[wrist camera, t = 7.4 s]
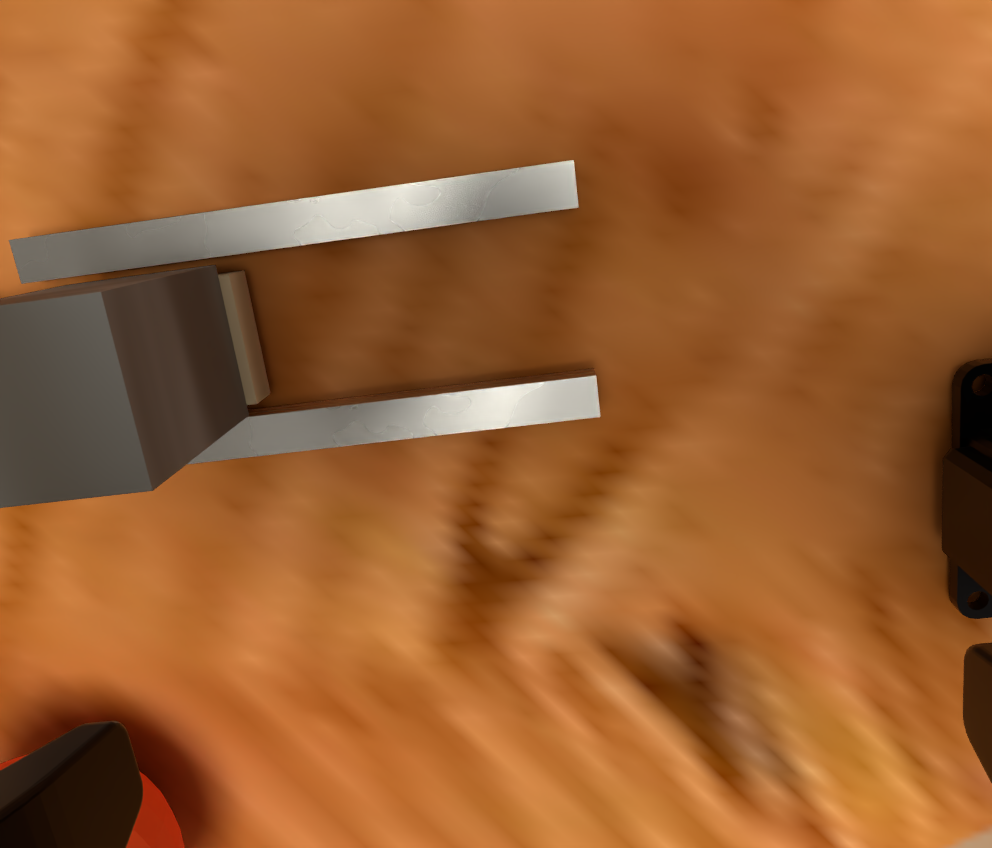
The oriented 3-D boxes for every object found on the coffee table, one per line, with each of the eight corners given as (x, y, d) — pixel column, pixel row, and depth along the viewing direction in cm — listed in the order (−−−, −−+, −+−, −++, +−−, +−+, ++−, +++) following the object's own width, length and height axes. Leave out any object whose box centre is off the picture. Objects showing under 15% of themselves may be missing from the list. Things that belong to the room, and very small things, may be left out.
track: (572, 160, 19) (573, 159, 18) (598, 408, 20) (600, 416, 19) (29, 238, 20) (8, 240, 19) (93, 466, 21) (76, 477, 20)
